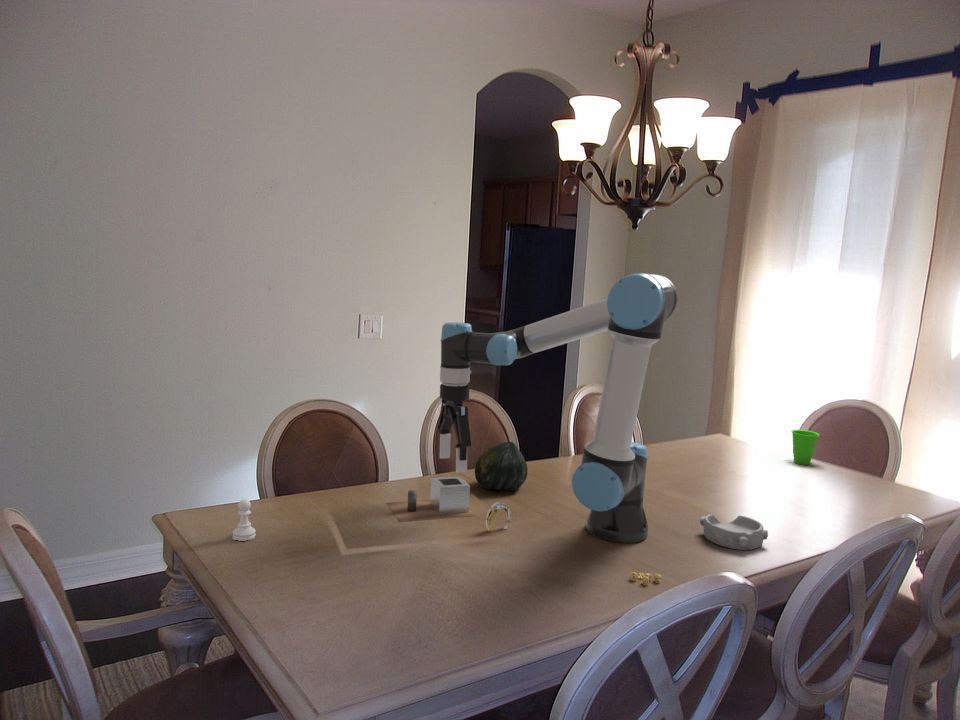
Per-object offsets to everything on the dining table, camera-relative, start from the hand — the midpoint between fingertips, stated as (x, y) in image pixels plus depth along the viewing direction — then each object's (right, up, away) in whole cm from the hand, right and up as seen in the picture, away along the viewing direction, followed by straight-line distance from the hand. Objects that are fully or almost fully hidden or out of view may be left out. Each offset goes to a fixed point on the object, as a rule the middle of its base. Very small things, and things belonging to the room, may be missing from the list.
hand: (452, 465), depth 187 cm
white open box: (-1, -11, +2) cm, 12 cm away
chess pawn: (-47, -14, -21) cm, 53 cm away
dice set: (+42, -21, -33) cm, 57 cm away
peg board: (-6, -13, 0) cm, 14 cm away
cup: (+121, -10, +70) cm, 140 cm away
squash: (+13, -10, +24) cm, 29 cm away
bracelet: (+11, -15, -11) cm, 22 cm away
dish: (+70, -18, -7) cm, 72 cm away
